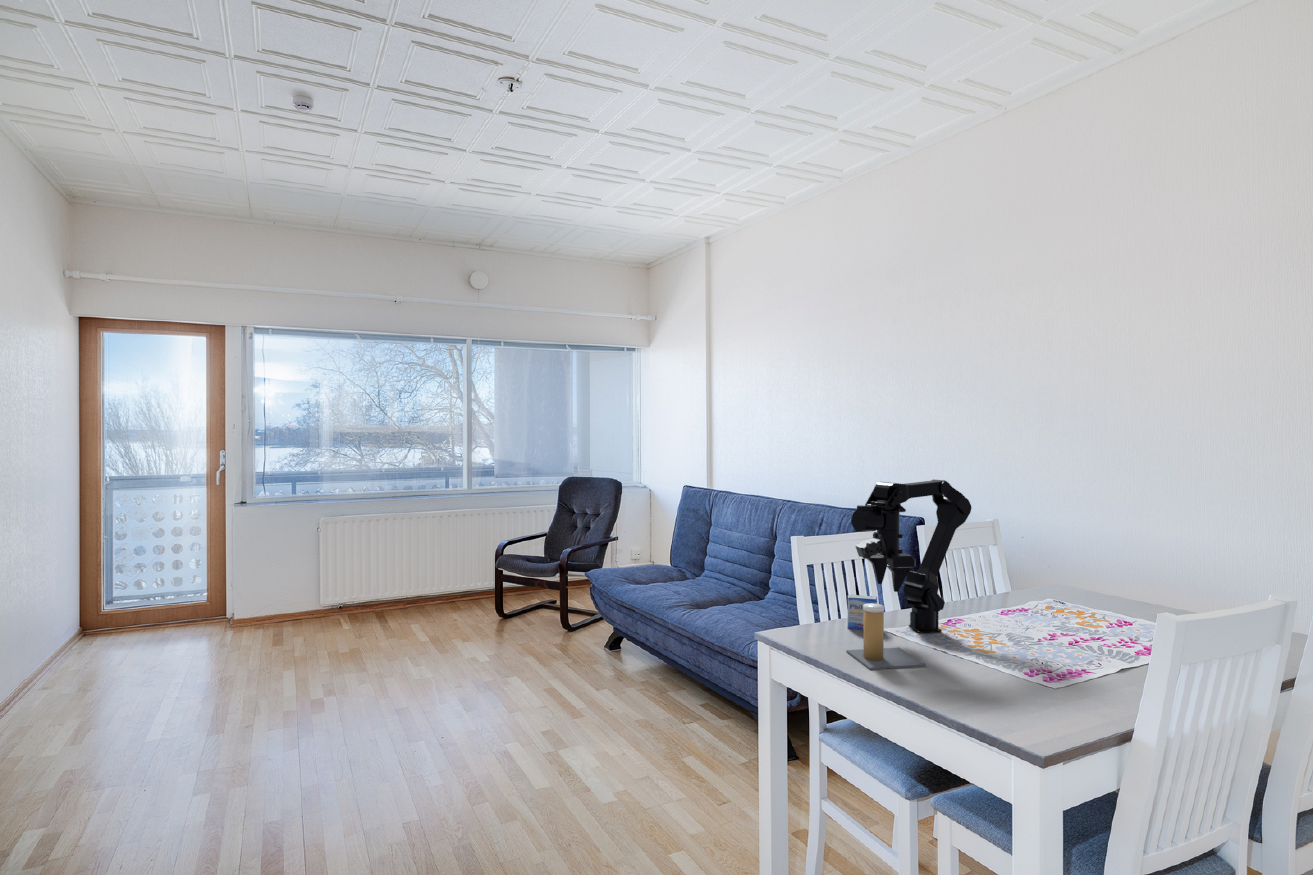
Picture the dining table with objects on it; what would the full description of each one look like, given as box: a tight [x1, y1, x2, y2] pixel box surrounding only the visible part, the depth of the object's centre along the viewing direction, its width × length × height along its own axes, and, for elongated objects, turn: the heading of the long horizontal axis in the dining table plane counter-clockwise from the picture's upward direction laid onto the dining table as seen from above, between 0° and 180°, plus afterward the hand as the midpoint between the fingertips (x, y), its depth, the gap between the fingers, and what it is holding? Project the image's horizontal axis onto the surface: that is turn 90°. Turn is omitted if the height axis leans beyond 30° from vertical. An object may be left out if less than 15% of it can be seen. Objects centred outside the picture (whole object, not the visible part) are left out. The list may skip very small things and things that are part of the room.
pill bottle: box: [863, 603, 885, 661], centre depth 174 cm, size 5×5×12 cm
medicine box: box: [847, 594, 878, 630], centre depth 201 cm, size 8×4×9 cm, turn 73°
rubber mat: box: [845, 646, 927, 671], centre depth 174 cm, size 14×13×1 cm
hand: (887, 587), depth 193 cm, fingers open, 9 cm apart
